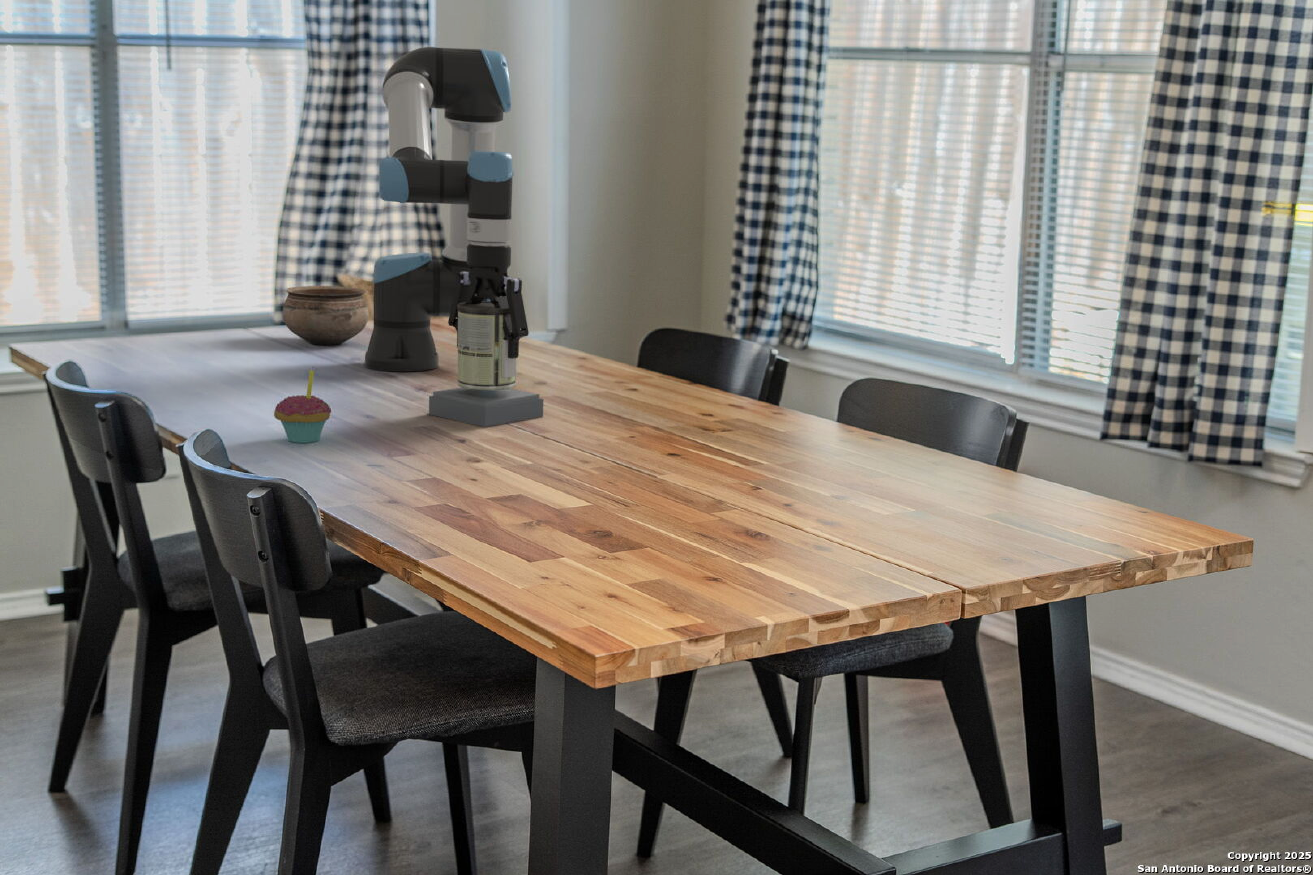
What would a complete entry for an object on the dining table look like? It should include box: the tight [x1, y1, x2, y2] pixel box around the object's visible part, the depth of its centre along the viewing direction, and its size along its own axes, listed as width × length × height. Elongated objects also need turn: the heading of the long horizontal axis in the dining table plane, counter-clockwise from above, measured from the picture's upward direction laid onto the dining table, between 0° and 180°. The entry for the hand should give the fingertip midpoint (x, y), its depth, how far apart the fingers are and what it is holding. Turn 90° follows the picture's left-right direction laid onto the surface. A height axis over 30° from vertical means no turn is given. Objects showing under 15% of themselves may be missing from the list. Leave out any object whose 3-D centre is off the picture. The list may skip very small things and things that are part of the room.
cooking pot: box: [281, 285, 370, 347], centre depth 308 cm, size 25×19×12 cm
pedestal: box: [428, 387, 544, 428], centre depth 238 cm, size 14×14×4 cm
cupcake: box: [273, 365, 332, 444], centre depth 213 cm, size 9×8×12 cm
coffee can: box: [456, 301, 517, 390], centre depth 236 cm, size 10×10×14 cm
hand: (486, 372), depth 237 cm, fingers closed on coffee can, 10 cm apart
